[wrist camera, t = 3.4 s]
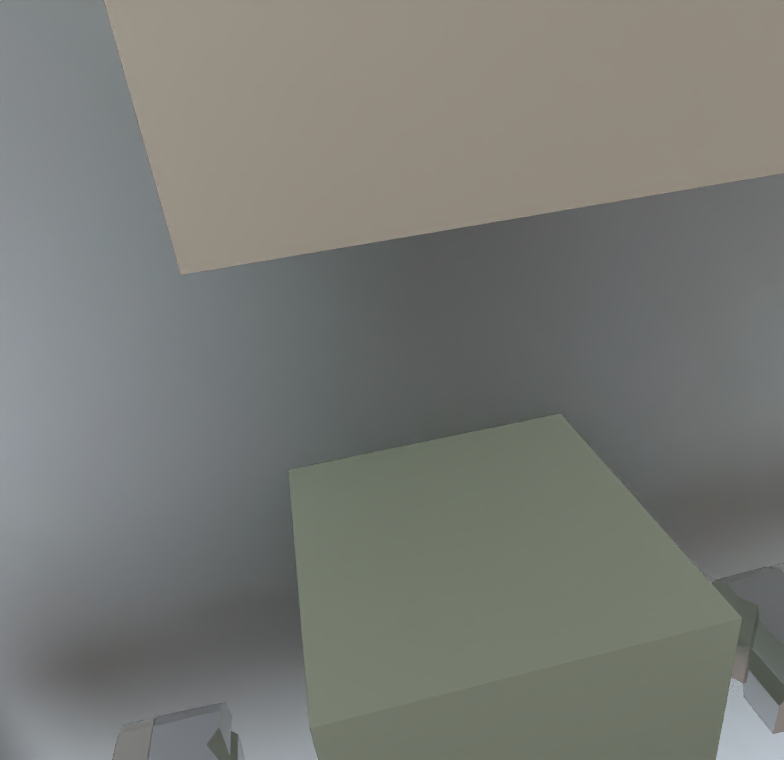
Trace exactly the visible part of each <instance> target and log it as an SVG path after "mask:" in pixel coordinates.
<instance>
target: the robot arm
mask: <svg viewBox="0 0 784 760" xmlns="http://www.w3.org/2000/svg"><path fill="white" fill-rule="evenodd" d="M712 585H713V586H714V587H715V588H716V589H717V590H718V591H719V592H720V594H721V595H722V596H723V597H724V598H725V599H726V600H727V601H728V603H729V604H730V605H731V606H732V607H733V608H734V609H735V610H736V612H737V613H738V614H739V615H740V616H741V617H742V621H741V626H740V632H739V637H738V642H737V648H736V653H735V659H734V664H733V669H732V675H731V677H733V678H734V679H736V680H738V681H740V682H742V683H743V692H744V698H745V700H746V701H747V702H748V703H749V705H750V706H751V707H752V708H753V710H754V711H755V712H756V713H757V715H758V716H759V717H760V718H761V720H762V721H763V722H764V724H765V725H766V726H767V727H768V729H769V730H770V731H771V732H772V734H775V733H779V732H783V731H784V563H782V564H778V565H774V566H770V567H763V568H759V569H755V570H752V571H748V572H744V573H740V574H736V575H732V576H729V577H725V578H721V579H717V580H715V581H714V582H713V583H712ZM112 760H245V759H244V754H243V749H242V745H241V742H240V739H239V736H238V734H236V733H234V732H232V731H231V714H230V711H229V709H228V706H227V704H226V702H222V703H218V704H213V705H208V706H204V707H199V708H195V709H190V710H186V711H181V712H176V713H172V714H167V715H163V716H158V717H154V718H150V719H146V720H141V721H137V722H133V723H128V724H124V725H123V727H122V729H121V731H120V732H119V734H118V736H117V740H116V745H115V750H114V754H113V759H112Z"/></svg>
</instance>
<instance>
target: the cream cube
mask: <svg viewBox="0 0 784 760" xmlns="http://www.w3.org/2000/svg"><path fill="white" fill-rule="evenodd" d="M104 3H105V7H106V10H107V14H108V17H109V21H110V24H111V28H112V32H113V35H114V39H115V42H116V46H117V49H118V53H119V56H120V60H121V64H122V67H123V71H124V74H125V78H126V81H127V85H128V89H129V92H130V96H131V99H132V103H133V106H134V110H135V114H136V117H137V121H138V124H139V128H140V131H141V135H142V138H143V142H144V146H145V149H146V153H147V156H148V160H149V163H150V167H151V171H152V174H153V178H154V181H155V185H156V188H157V192H158V196H159V199H160V203H161V206H162V210H163V213H164V217H165V220H166V224H167V228H168V231H169V235H170V238H171V242H172V245H173V249H174V253H175V256H176V260H177V263H178V267H179V270H180V274H181V275H184V274H190V273H196V272H202V271H208V270H214V269H220V268H226V267H232V266H238V265H244V264H250V263H256V262H261V261H267V260H273V259H279V258H285V257H291V256H297V255H303V254H309V253H315V252H321V251H327V250H333V249H338V248H344V247H350V246H356V245H362V244H368V243H374V242H380V241H386V240H392V239H398V238H404V237H410V236H415V235H421V234H427V233H433V232H439V231H445V230H451V229H457V228H463V227H469V226H475V225H481V224H487V223H492V222H498V221H504V220H510V219H516V218H522V217H528V216H534V215H540V214H546V213H552V212H558V211H564V210H569V209H575V208H581V207H587V206H593V205H599V204H605V203H611V202H617V201H623V200H629V199H635V198H641V197H646V196H652V195H658V194H664V193H670V192H676V191H682V190H688V189H694V188H700V187H706V186H712V185H718V184H723V183H729V182H735V181H741V180H747V179H753V178H759V177H765V176H771V175H777V174H783V173H784V0H104Z"/></svg>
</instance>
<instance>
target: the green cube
mask: <svg viewBox="0 0 784 760" xmlns="http://www.w3.org/2000/svg"><path fill="white" fill-rule="evenodd" d="M288 473H289V485H290V497H291V510H292V522H293V534H294V546H295V558H296V570H297V582H298V594H299V606H300V618H301V631H302V643H303V655H304V667H305V679H306V691H307V703H308V715H309V727H310V732H311V735H312V739H313V743H314V746H315V750H316V753H317V757H318V760H716V755H717V749H718V744H719V739H720V733H721V728H722V723H723V717H724V712H725V707H726V701H727V696H728V691H729V685H730V680H731V675H732V669H733V664H734V659H735V653H736V648H737V642H738V637H739V632H740V626H741V621H742V617H741V616H740V615H739V614H738V613H737V612H736V610H735V609H734V608H733V607H732V606H731V605H730V604H729V603H728V601H727V600H726V599H725V598H724V597H723V596H722V595H721V594H720V592H719V591H718V590H717V589H716V588H715V587H714V586H713V585H712V583H711V582H710V581H709V580H708V579H707V578H706V577H705V576H704V574H703V573H702V572H701V571H700V570H699V569H698V568H697V567H696V565H695V564H694V563H693V562H692V561H691V560H690V559H689V558H688V556H687V555H686V554H685V553H684V552H683V551H682V550H681V549H680V547H679V546H678V545H677V544H676V543H675V542H674V541H673V540H672V538H671V537H670V536H669V535H668V534H667V533H666V532H665V531H664V529H663V528H662V527H661V526H660V525H659V524H658V523H657V522H656V520H655V519H654V518H653V517H652V516H651V515H650V514H649V513H648V511H647V510H646V509H645V508H644V507H643V506H642V505H641V503H640V502H639V501H638V500H637V499H636V498H635V497H634V496H633V494H632V493H631V492H630V491H629V490H628V489H627V488H626V487H625V485H624V484H623V483H622V482H621V481H620V480H619V479H618V478H617V476H616V475H615V474H614V473H613V472H612V471H611V470H610V469H609V467H608V466H607V465H606V464H605V463H604V462H603V461H602V460H601V458H600V457H599V456H598V455H597V454H596V453H595V452H594V451H593V449H592V448H591V447H590V446H589V445H588V444H587V443H586V442H585V440H584V439H583V438H582V437H581V436H580V435H579V434H578V433H577V431H576V430H575V429H574V428H573V427H572V426H571V425H570V424H569V422H568V421H567V420H566V419H565V418H564V417H563V416H562V415H561V413H560V414H555V415H550V416H545V417H541V418H536V419H531V420H526V421H521V422H516V423H512V424H507V425H502V426H497V427H492V428H487V429H483V430H478V431H473V432H468V433H463V434H458V435H453V436H449V437H444V438H439V439H434V440H429V441H424V442H420V443H415V444H410V445H405V446H400V447H395V448H391V449H386V450H381V451H376V452H371V453H366V454H362V455H357V456H352V457H347V458H342V459H337V460H333V461H328V462H323V463H318V464H313V465H308V466H304V467H299V468H294V469H289V470H288Z"/></svg>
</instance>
